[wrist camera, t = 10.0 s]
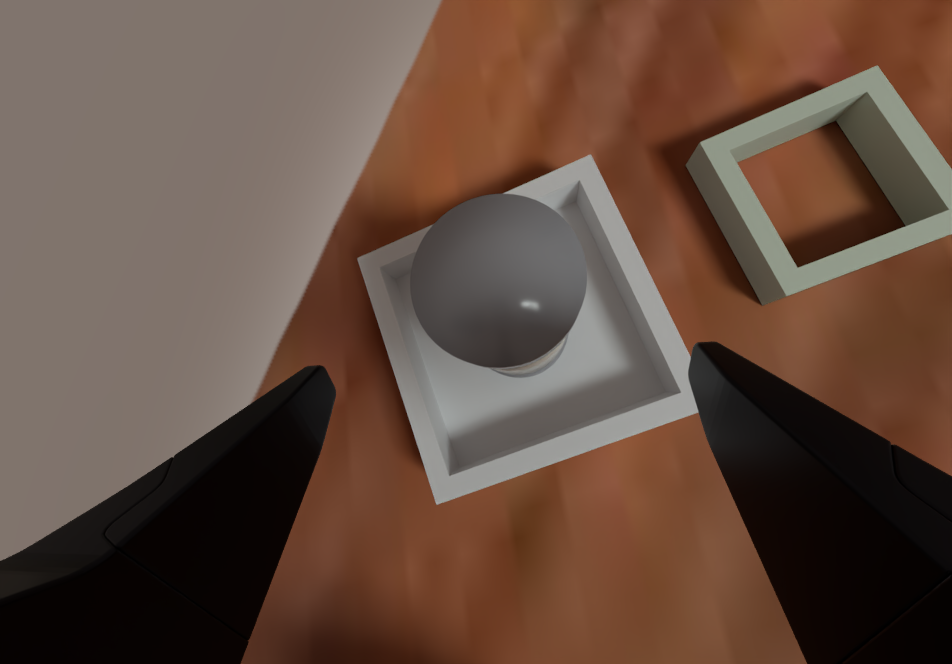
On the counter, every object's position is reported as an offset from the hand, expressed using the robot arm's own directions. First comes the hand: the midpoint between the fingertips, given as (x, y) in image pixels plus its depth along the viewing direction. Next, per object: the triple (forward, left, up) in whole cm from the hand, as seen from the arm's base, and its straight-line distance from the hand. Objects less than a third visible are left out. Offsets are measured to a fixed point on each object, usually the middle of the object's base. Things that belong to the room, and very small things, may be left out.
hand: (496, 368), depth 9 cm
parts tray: (+2, -1, -12) cm, 12 cm away
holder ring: (+3, -17, -12) cm, 21 cm away
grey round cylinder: (+2, -1, -11) cm, 11 cm away
